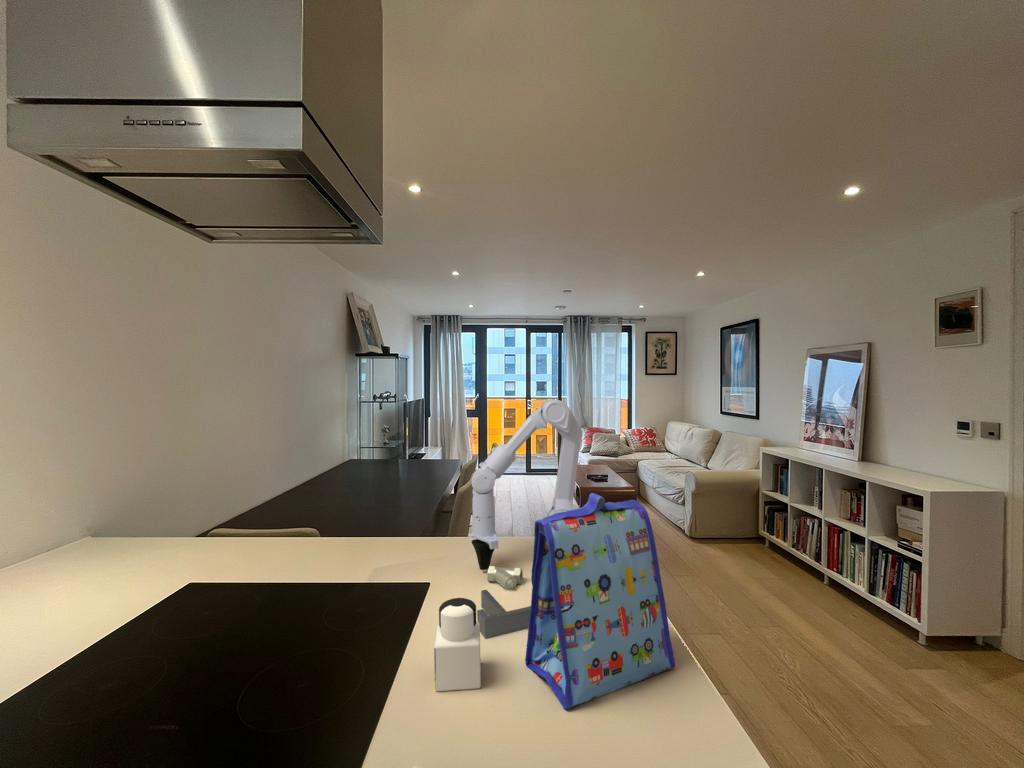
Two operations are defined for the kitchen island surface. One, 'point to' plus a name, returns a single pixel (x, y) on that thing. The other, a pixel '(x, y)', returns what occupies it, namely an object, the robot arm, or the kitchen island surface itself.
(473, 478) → the robot arm
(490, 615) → the grey angle bracket
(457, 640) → the medicine bottle
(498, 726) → the kitchen island surface
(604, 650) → the lunch bag
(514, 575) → the pipe fitting
